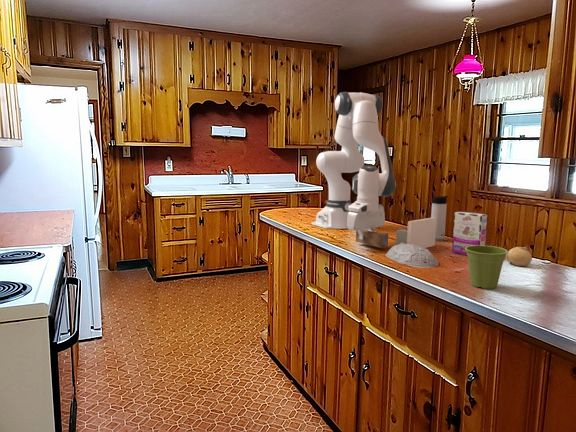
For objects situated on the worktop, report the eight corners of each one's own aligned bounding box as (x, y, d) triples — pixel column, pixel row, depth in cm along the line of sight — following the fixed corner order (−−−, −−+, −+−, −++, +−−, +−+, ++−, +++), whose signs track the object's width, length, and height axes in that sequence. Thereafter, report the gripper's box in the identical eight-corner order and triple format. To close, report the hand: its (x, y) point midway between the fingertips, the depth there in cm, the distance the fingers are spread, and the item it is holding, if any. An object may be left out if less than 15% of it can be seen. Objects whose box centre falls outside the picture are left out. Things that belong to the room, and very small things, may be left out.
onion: (510, 267, 155) (512, 247, 154) (502, 261, 162) (504, 242, 161) (534, 268, 154) (536, 248, 153) (525, 262, 161) (527, 243, 160)
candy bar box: (484, 256, 170) (488, 214, 167) (478, 258, 167) (481, 215, 164) (457, 251, 178) (460, 210, 176) (451, 252, 175) (454, 211, 172)
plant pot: (479, 277, 141) (482, 243, 140) (513, 288, 131) (517, 251, 129) (453, 282, 136) (456, 247, 134) (487, 294, 125) (490, 255, 124)
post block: (391, 247, 183) (392, 218, 181) (416, 242, 195) (417, 215, 193) (409, 251, 176) (411, 221, 174) (434, 245, 188) (436, 217, 186)
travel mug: (446, 241, 196) (449, 196, 193) (430, 240, 198) (433, 196, 194) (444, 238, 202) (446, 195, 199) (429, 238, 204) (431, 194, 201)
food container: (416, 269, 150) (419, 249, 149) (373, 256, 173) (375, 239, 172) (451, 269, 156) (453, 250, 156) (405, 256, 179) (407, 240, 178)
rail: (355, 241, 187) (356, 229, 187) (361, 240, 190) (361, 228, 189) (382, 248, 177) (382, 234, 176) (387, 246, 179) (388, 233, 178)
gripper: (377, 202, 192) (375, 234, 194) (345, 206, 179) (343, 240, 181) (389, 204, 187) (387, 236, 189) (356, 208, 174) (355, 243, 177)
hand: (365, 238), depth 185 cm, fingers closed on rail, 4 cm apart
